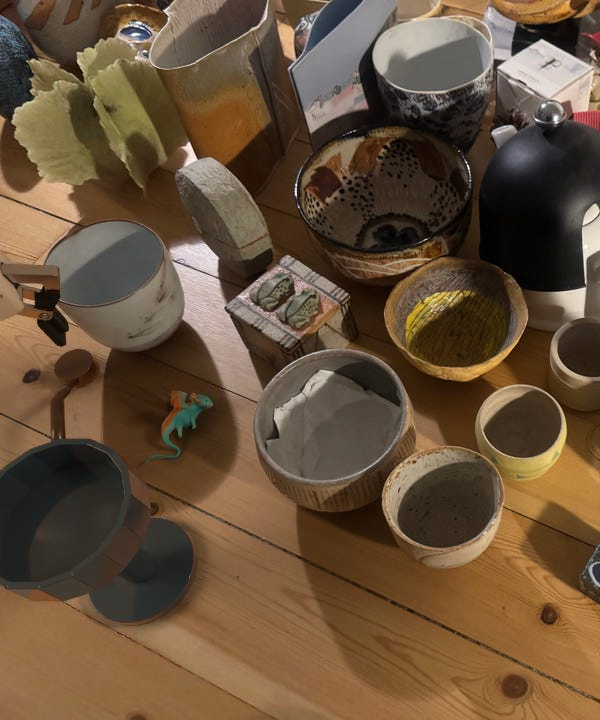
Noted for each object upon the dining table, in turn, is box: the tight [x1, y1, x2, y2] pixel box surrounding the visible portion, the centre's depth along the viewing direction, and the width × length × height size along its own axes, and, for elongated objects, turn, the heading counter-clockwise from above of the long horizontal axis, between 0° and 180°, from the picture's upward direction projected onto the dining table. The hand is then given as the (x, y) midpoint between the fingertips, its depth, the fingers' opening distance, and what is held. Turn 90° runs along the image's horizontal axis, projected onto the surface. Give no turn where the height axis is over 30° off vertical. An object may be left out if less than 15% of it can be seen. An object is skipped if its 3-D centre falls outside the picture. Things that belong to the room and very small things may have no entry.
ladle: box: [49, 348, 101, 442], centre depth 83 cm, size 18×5×7 cm, turn 19°
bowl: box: [0, 437, 199, 626], centre depth 67 cm, size 13×13×19 cm
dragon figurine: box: [145, 390, 214, 464], centre depth 83 cm, size 7×7×8 cm
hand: (11, 350), depth 69 cm, fingers open, 9 cm apart
